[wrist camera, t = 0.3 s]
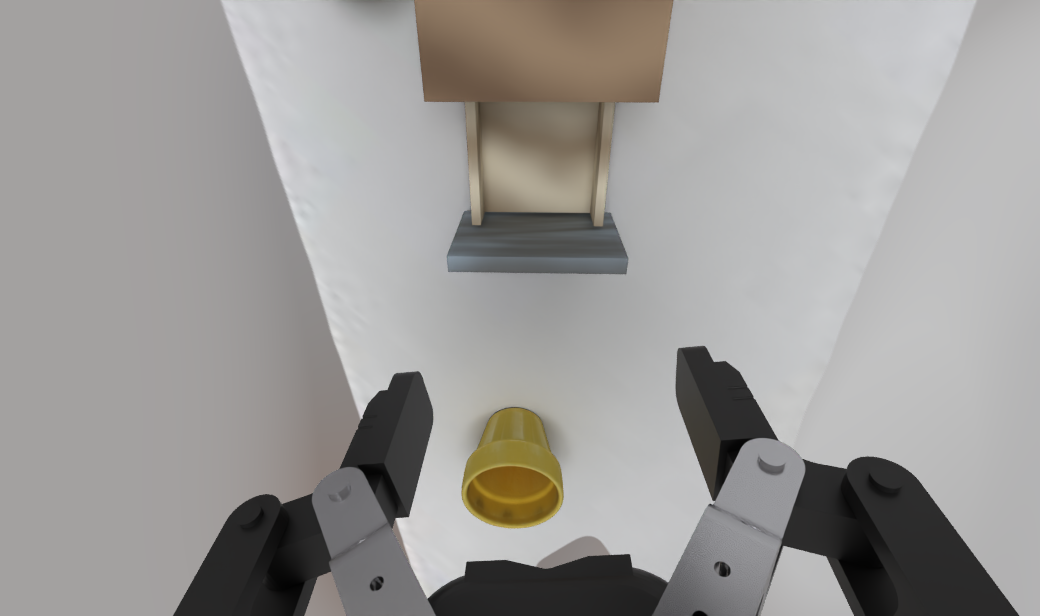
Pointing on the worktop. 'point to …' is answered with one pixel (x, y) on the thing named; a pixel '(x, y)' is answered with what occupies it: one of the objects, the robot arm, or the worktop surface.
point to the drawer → (538, 190)
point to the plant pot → (513, 473)
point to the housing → (542, 50)
